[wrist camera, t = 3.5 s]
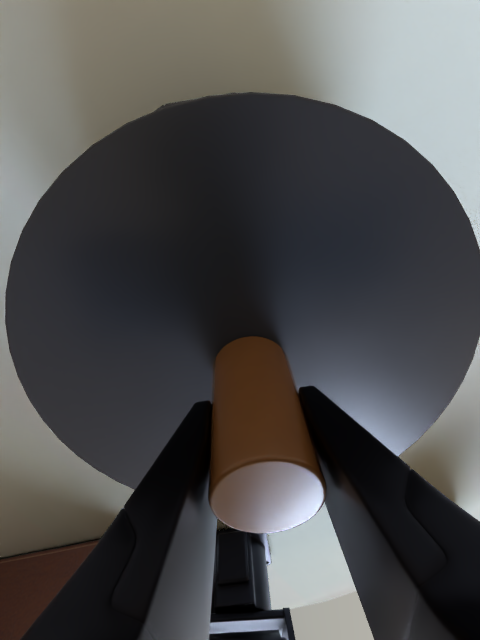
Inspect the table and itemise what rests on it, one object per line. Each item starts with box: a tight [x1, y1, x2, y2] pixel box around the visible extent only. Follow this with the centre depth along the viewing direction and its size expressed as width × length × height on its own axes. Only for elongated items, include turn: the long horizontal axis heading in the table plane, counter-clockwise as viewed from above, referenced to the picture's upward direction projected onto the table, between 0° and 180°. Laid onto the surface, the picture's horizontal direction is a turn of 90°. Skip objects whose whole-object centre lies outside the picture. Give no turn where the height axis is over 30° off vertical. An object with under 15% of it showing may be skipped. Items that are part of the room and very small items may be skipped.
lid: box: [5, 92, 480, 533], centre depth 9 cm, size 15×15×6 cm
